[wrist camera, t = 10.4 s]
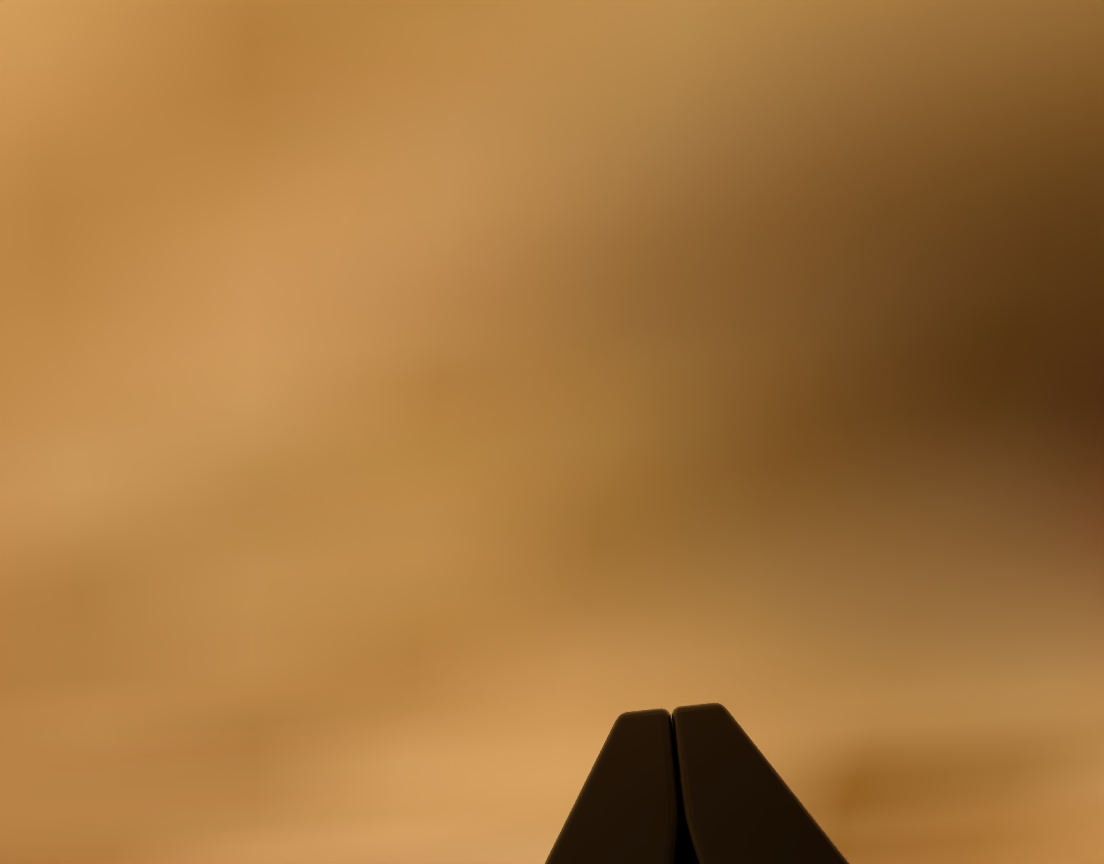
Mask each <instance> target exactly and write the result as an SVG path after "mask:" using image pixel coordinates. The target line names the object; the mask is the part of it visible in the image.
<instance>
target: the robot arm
mask: <svg viewBox="0 0 1104 864" xmlns="http://www.w3.org/2000/svg"><path fill="white" fill-rule="evenodd" d="M672 725H673V726H672ZM545 864H849V862H848V861H847V860H846V859H845V857H844V856H843V855H842V854H841V852H840V851H839V850H838V849H837V847H836V846H835V845H834V844H833V842H832V841H831V840H830V838H829V837H828V836H827V835H826V833H825V832H824V831H823V830H822V828H821V827H820V826H819V825H818V823H817V822H816V821H815V820H814V818H813V817H812V816H811V815H810V813H809V812H808V811H807V809H806V808H805V807H804V806H803V804H802V803H801V802H800V801H799V799H798V798H797V797H796V796H795V794H794V793H793V792H792V791H791V789H790V788H789V787H788V786H787V784H786V783H785V782H784V781H783V779H782V778H781V777H780V775H779V774H778V773H777V772H776V770H775V769H774V768H773V767H772V765H771V764H770V763H769V762H768V760H767V759H766V758H765V757H764V755H763V754H762V753H761V752H760V750H759V749H758V748H757V747H756V745H755V744H754V743H753V741H752V740H751V739H750V738H749V736H748V735H747V734H746V733H745V731H744V730H743V729H742V728H741V726H740V725H739V724H738V723H737V721H736V720H735V719H734V718H733V716H732V715H731V714H730V713H729V711H728V710H727V709H726V708H725V707H724V706H723V705H721V704H718V703H709V704H700V705H690V706H680V707H677V708H676V709H674V711H673V713H672V719H671V715H670V713H669V712H668V711H667V710H665V709H652V710H642V711H633V712H625V713H623V714H621V715H620V716H619V717H618V718H617V720H616V721H615V723H614V725H613V727H612V729H611V731H610V733H609V735H608V737H607V739H606V741H605V743H604V745H603V747H602V749H601V751H600V753H599V755H598V757H597V759H596V761H595V763H594V765H593V767H592V769H591V772H590V774H589V776H588V778H587V780H586V782H585V784H584V786H583V788H582V790H581V792H580V794H579V796H578V798H577V800H576V802H575V804H574V806H573V808H572V810H571V812H570V814H569V816H568V818H567V820H566V822H565V824H564V826H563V828H562V830H561V832H560V834H559V836H558V838H557V840H556V842H555V844H554V846H553V848H552V850H551V852H550V854H549V856H548V858H547V860H546V862H545Z"/></svg>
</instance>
